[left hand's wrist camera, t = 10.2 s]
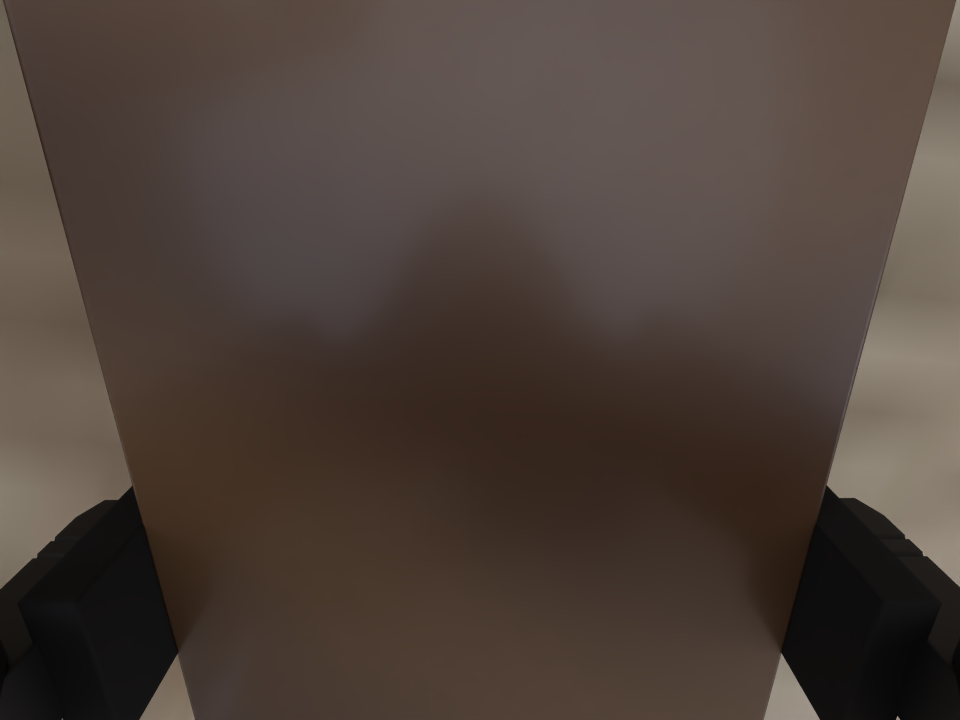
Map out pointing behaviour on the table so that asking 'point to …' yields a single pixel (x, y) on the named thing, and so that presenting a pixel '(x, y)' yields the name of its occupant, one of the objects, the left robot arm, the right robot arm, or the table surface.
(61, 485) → the table surface
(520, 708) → the long brown box
